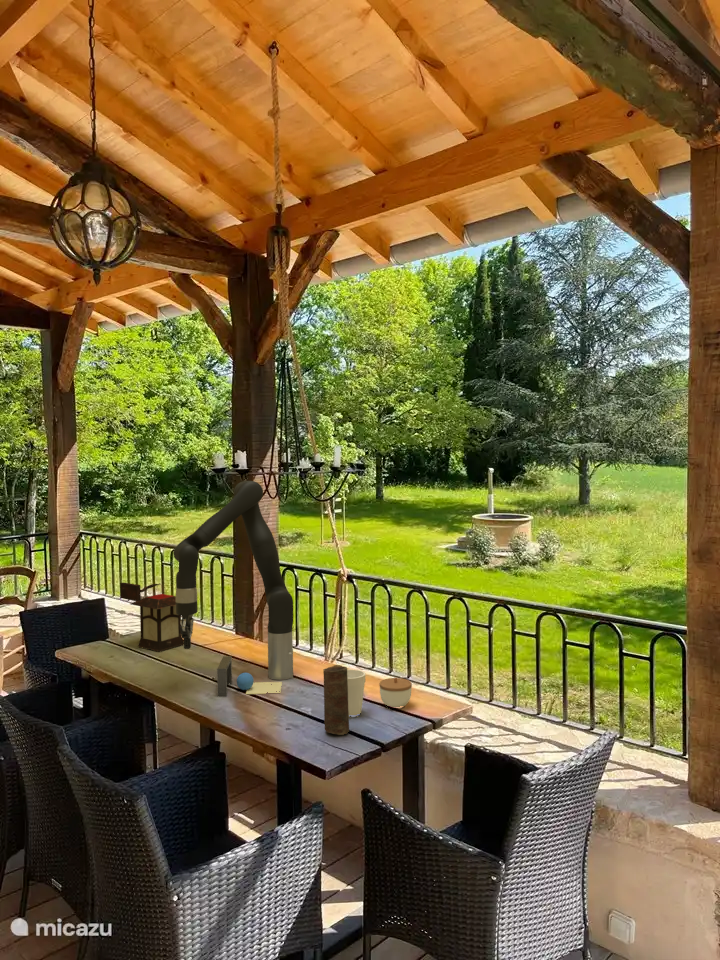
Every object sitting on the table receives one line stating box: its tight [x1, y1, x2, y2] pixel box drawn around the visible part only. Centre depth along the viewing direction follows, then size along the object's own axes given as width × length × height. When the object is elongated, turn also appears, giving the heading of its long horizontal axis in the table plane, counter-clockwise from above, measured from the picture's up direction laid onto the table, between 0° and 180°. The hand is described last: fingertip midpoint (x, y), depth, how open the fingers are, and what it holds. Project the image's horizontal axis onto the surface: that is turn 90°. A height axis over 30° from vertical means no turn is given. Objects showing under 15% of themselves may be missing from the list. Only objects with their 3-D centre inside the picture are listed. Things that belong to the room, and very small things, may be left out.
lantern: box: [119, 582, 184, 653], centre depth 306 cm, size 18×26×30 cm
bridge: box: [216, 655, 233, 697], centre depth 252 cm, size 3×15×10 cm, turn 3°
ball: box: [236, 672, 255, 691], centre depth 252 cm, size 6×6×6 cm
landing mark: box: [245, 681, 283, 695], centre depth 253 cm, size 12×12×1 cm
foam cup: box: [347, 668, 366, 715], centre depth 228 cm, size 10×9×13 cm
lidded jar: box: [378, 677, 413, 707], centre depth 234 cm, size 11×11×9 cm
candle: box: [323, 664, 350, 736], centre depth 212 cm, size 8×7×20 cm
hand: (187, 648), depth 251 cm, fingers closed
